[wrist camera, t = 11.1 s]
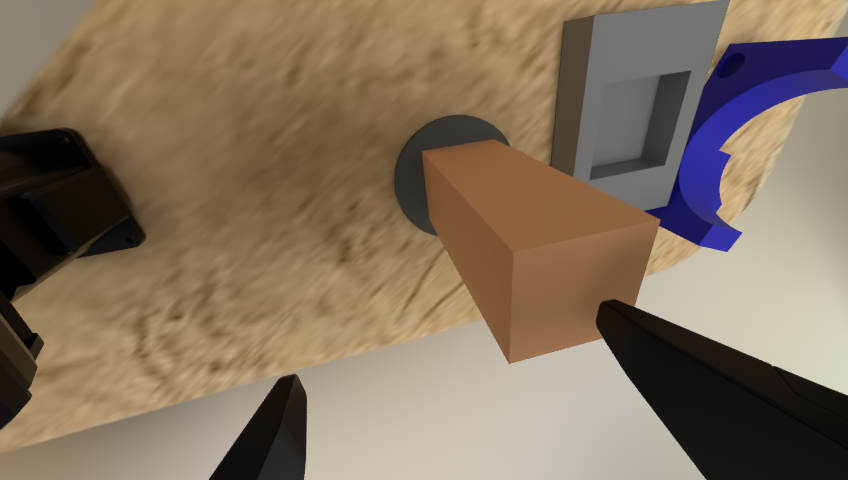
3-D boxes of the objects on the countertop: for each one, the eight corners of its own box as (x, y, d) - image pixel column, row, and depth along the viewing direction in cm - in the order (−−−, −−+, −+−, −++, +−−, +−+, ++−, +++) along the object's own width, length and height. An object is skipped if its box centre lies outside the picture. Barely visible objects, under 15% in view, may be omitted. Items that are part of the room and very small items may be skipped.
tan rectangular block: (429, 219, 21) (508, 363, 11) (421, 151, 19) (513, 252, 8) (493, 206, 22) (626, 331, 11) (493, 138, 19) (660, 219, 9)
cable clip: (665, 219, 27) (740, 255, 22) (627, 209, 25) (698, 245, 20) (767, 66, 22) (895, 66, 17) (727, 44, 21) (854, 36, 15)
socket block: (546, 213, 24) (566, 227, 22) (564, 21, 18) (594, 15, 15) (639, 193, 25) (667, 205, 23) (686, 6, 19) (730, -2, 17)
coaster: (404, 243, 22) (405, 247, 22) (384, 126, 18) (385, 127, 18) (509, 220, 23) (513, 224, 23) (512, 105, 19) (517, 106, 19)
